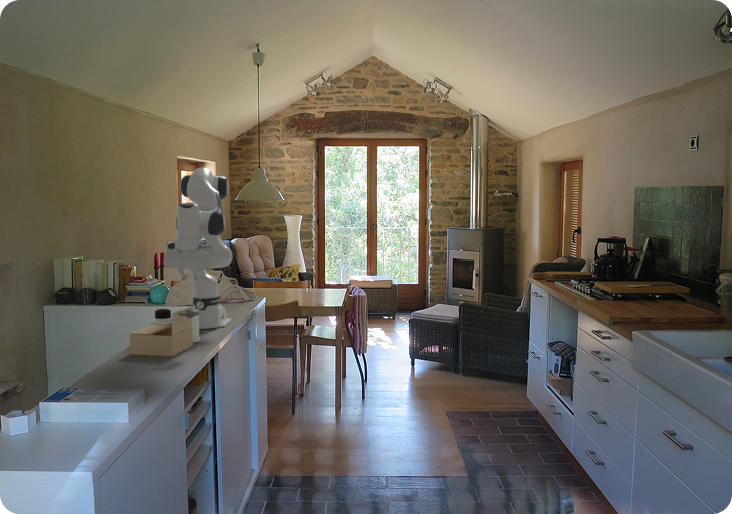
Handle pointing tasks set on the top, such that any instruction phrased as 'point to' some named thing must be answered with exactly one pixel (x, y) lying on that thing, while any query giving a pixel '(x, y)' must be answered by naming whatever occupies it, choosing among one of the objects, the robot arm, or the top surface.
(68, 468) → the top surface
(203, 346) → the top surface
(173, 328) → the near flap
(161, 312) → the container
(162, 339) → the carton
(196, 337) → the mug
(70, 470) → the top surface
